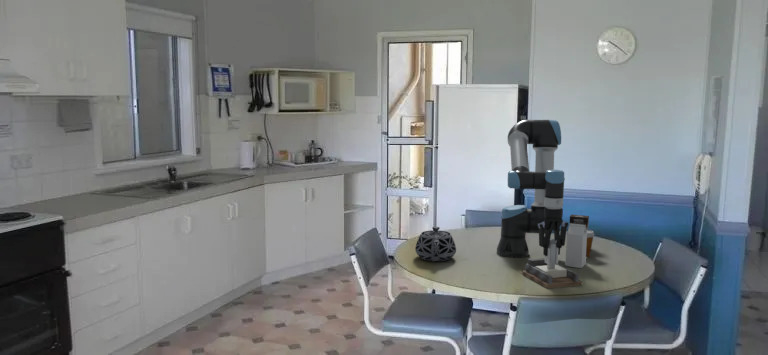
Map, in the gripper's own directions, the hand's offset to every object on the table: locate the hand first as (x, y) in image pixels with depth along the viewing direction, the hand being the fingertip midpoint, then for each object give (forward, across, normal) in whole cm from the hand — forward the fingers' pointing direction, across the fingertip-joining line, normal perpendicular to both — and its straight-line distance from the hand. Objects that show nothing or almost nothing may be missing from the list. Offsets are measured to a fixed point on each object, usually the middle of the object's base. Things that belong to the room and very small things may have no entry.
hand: (551, 262), depth 261 cm
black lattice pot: (+7, -35, +44) cm, 57 cm away
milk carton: (+7, +22, +16) cm, 28 cm away
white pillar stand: (+5, 0, 0) cm, 5 cm away
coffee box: (+7, +42, +44) cm, 62 cm away
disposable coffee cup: (+7, +35, +30) cm, 46 cm away
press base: (+7, 0, 0) cm, 7 cm away
